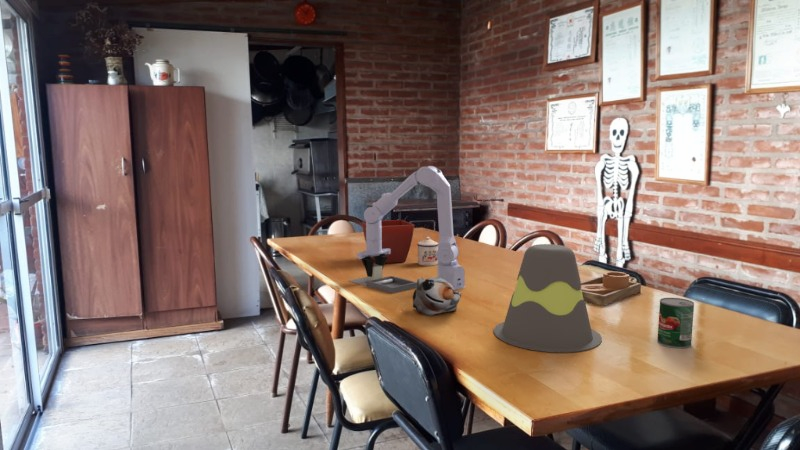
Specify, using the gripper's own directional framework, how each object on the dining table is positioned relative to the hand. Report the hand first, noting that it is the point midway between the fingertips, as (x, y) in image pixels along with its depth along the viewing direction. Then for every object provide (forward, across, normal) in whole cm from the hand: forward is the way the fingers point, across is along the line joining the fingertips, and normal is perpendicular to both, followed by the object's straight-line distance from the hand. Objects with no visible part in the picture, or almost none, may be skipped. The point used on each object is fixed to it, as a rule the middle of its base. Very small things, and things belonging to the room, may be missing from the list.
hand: (374, 275), depth 212 cm
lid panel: (+3, +1, -2) cm, 4 cm away
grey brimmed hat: (+3, +4, +77) cm, 77 cm away
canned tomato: (+3, -14, +103) cm, 104 cm away
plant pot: (+3, -31, -28) cm, 42 cm away
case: (+3, +1, +11) cm, 11 cm away
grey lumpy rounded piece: (+3, +10, +42) cm, 44 cm away
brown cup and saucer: (+3, -46, +66) cm, 81 cm away
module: (+1, 0, 0) cm, 1 cm away
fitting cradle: (+3, -46, +66) cm, 80 cm away
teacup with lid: (+3, -40, -10) cm, 41 cm away
